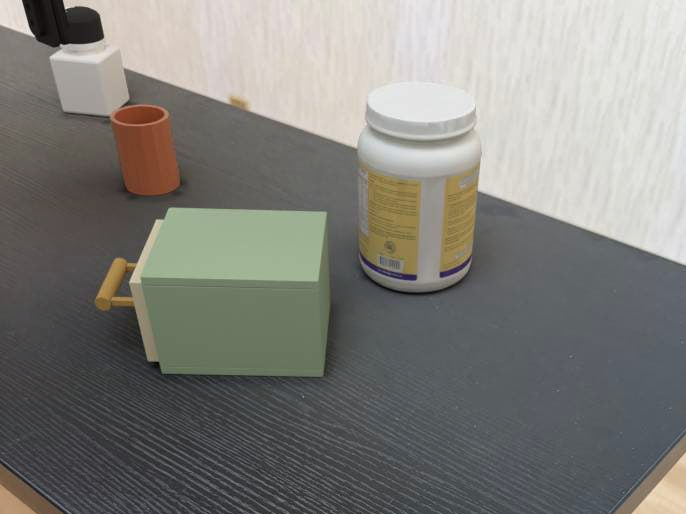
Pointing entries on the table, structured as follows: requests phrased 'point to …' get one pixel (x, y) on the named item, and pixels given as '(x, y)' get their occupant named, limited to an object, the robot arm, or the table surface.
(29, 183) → the table surface
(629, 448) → the table surface
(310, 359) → the cabinet
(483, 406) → the table surface
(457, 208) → the supplement tub
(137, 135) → the cup
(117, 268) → the drawer
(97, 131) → the table surface
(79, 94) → the medicine bottle
